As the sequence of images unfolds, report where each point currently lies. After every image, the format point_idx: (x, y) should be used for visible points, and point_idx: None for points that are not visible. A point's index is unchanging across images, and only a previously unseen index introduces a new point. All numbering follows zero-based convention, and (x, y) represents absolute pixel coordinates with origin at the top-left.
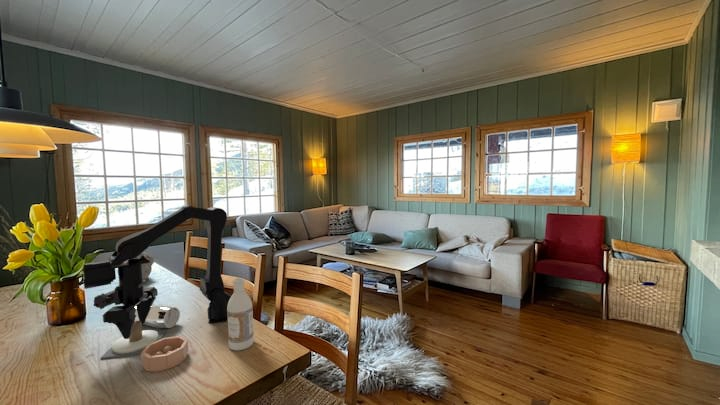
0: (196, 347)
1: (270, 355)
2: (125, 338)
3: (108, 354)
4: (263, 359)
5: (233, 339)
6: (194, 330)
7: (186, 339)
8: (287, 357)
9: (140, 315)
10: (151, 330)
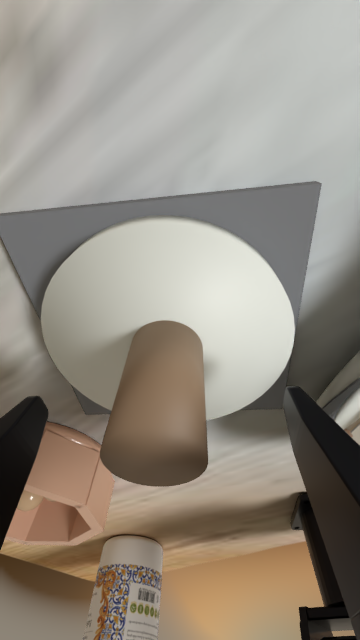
0: (126, 494)
1: (91, 566)
2: (30, 402)
3: (34, 248)
4: (77, 561)
5: (96, 581)
6: (254, 472)
7: (77, 543)
8: (86, 575)
9: (321, 463)
10: (270, 380)
